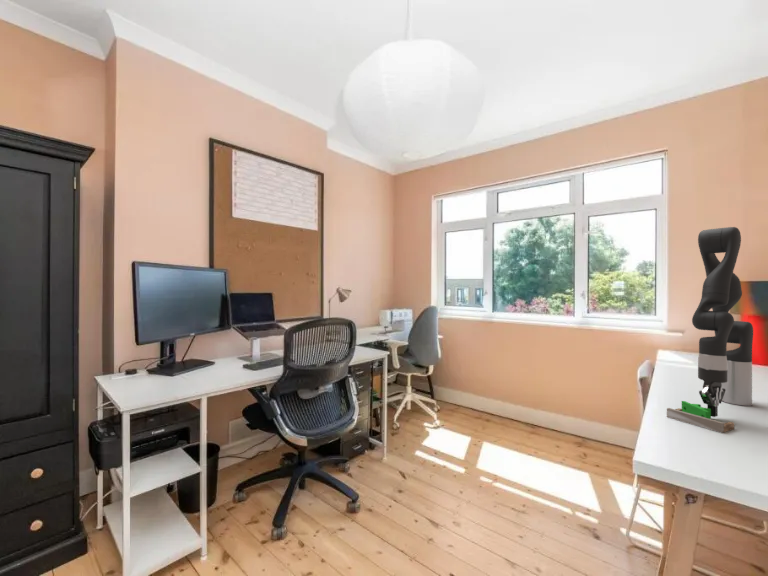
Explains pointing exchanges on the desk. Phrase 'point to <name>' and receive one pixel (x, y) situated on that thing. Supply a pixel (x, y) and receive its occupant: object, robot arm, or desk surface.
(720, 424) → the channel stop
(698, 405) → the pipe clamp
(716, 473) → the desk surface
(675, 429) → the desk surface
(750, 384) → the robot arm
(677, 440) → the desk surface
